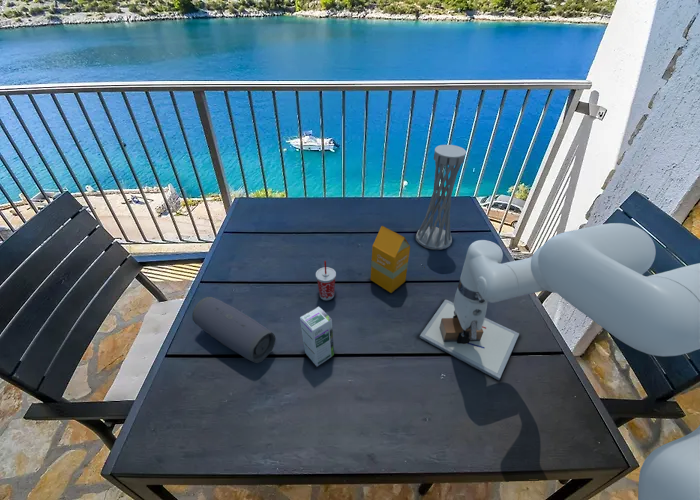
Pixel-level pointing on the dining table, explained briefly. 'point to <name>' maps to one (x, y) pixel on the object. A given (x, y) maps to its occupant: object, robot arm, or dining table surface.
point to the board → (474, 343)
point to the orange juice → (389, 259)
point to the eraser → (454, 330)
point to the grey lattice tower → (434, 235)
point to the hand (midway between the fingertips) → (459, 333)
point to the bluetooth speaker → (234, 329)
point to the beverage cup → (326, 282)
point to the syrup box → (317, 335)
